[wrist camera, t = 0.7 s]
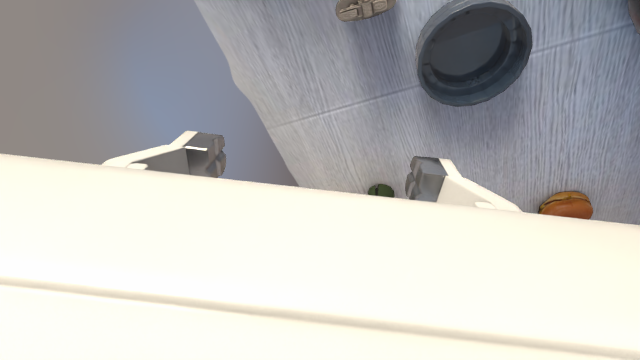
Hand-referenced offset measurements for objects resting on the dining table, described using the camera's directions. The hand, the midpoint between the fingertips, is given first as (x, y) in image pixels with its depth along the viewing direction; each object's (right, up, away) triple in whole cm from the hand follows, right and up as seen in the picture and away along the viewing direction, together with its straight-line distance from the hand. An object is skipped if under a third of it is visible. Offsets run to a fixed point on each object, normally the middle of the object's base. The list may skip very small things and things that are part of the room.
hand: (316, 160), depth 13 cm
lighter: (+7, +28, +33) cm, 43 cm away
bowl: (+23, +21, +36) cm, 47 cm away
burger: (+54, -6, +55) cm, 78 cm away
